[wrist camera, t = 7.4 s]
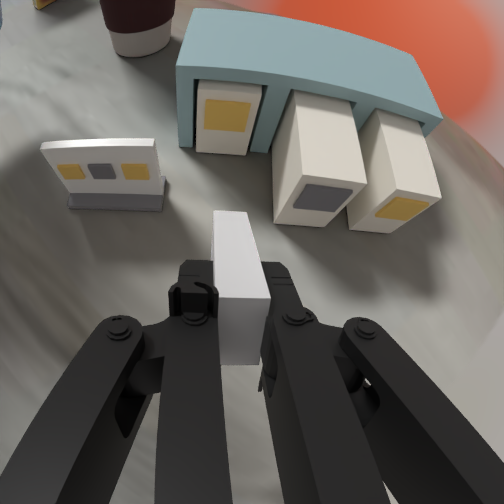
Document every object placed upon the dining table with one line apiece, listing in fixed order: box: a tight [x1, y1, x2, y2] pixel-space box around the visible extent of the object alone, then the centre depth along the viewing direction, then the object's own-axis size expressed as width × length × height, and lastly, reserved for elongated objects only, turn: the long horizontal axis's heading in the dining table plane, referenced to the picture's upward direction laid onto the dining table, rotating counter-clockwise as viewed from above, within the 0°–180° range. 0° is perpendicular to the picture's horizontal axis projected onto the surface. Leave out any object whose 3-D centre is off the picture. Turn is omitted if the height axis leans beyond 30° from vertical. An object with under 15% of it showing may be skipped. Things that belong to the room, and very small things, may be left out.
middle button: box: [271, 89, 367, 227], centre depth 23 cm, size 4×10×8 cm, turn 0°
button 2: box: [346, 107, 442, 234], centre depth 24 cm, size 4×10×8 cm, turn 0°
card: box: [40, 138, 166, 212], centre depth 21 cm, size 8×3×7 cm, turn 90°
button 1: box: [196, 79, 262, 156], centre depth 24 cm, size 4×10×8 cm, turn 0°
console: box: [176, 8, 443, 153], centre depth 25 cm, size 21×9×10 cm, turn 90°
